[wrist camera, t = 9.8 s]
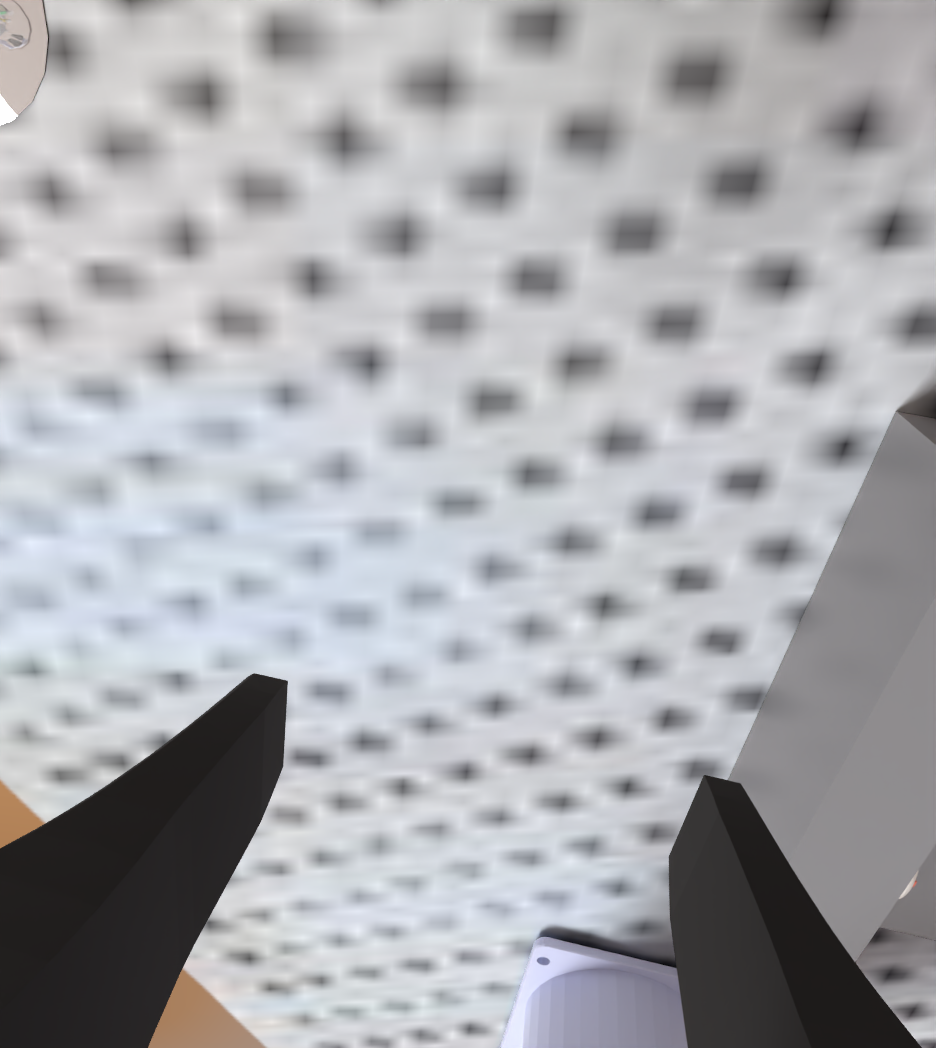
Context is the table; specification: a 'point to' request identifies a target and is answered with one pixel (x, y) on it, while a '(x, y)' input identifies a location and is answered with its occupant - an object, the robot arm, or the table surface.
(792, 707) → the scale
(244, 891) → the table surface
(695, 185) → the table surface
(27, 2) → the wineglass
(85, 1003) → the robot arm
